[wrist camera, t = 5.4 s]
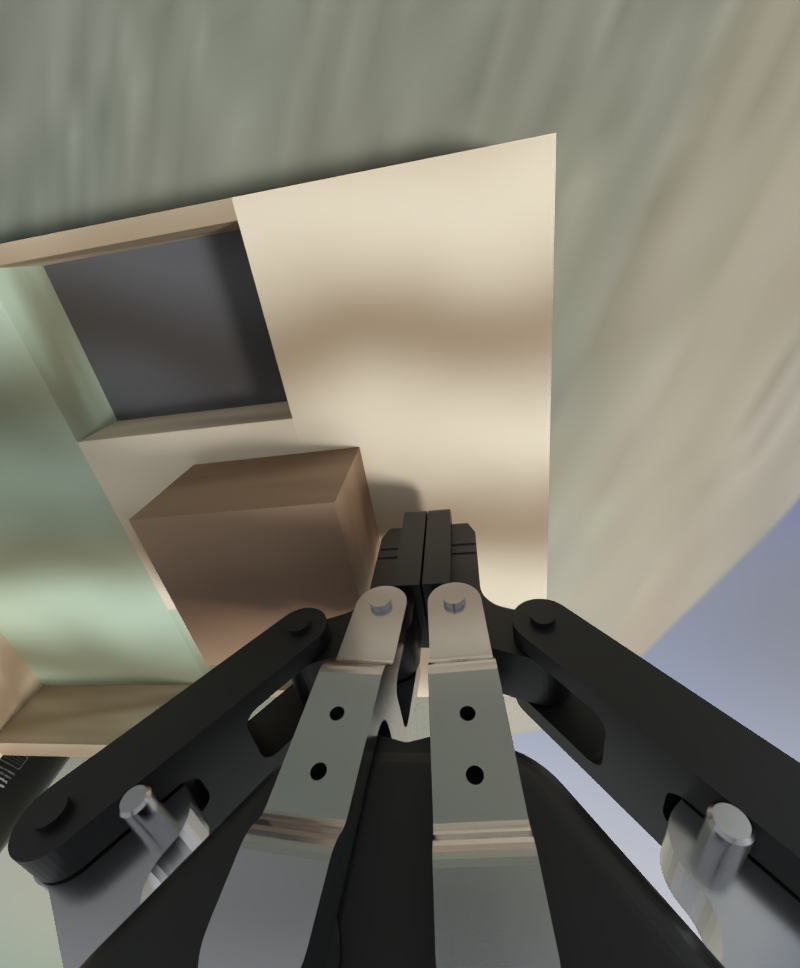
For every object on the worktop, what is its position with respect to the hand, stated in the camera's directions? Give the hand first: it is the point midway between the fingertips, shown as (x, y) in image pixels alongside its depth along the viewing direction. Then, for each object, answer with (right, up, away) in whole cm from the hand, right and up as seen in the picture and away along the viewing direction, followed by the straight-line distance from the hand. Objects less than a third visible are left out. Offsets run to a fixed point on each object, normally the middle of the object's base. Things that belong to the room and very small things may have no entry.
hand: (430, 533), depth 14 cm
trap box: (-9, +1, +5) cm, 10 cm away
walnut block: (-5, 0, +2) cm, 5 cm away
